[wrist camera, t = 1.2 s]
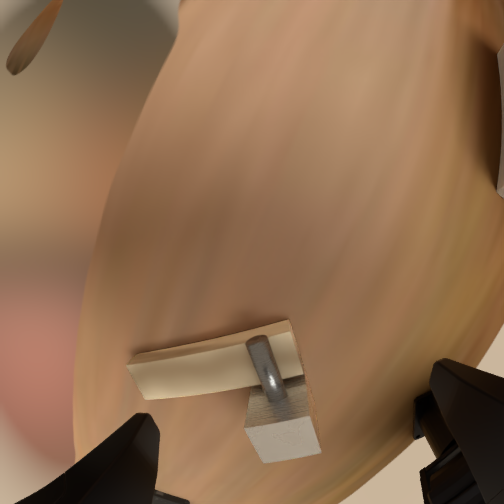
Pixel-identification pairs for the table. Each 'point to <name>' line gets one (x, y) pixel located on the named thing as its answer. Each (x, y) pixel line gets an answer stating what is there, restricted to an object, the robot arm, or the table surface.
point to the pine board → (212, 364)
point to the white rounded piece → (503, 178)
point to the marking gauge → (279, 409)
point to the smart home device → (167, 499)
